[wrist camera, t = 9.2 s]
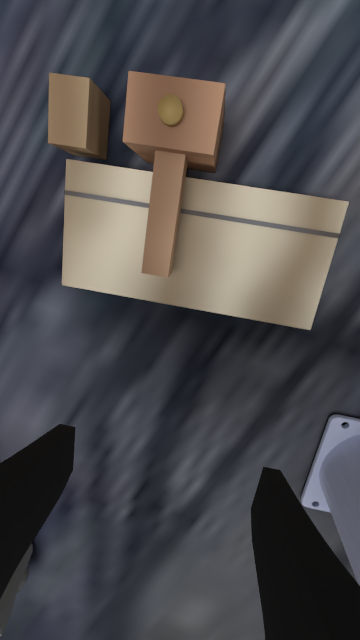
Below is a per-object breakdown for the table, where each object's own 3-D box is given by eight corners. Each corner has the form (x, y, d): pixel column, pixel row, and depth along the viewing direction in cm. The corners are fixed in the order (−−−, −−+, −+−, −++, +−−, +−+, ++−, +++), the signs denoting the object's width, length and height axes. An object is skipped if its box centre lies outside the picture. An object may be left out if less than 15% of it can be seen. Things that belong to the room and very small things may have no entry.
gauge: (224, 122, 17) (225, 76, 12) (198, 270, 20) (190, 287, 14) (153, 112, 18) (124, 63, 12) (137, 259, 20) (107, 272, 15)
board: (335, 204, 18) (349, 201, 16) (301, 320, 20) (310, 330, 18) (81, 165, 19) (65, 158, 17) (76, 279, 21) (61, 285, 19)
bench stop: (110, 101, 18) (89, 77, 15) (106, 159, 19) (85, 148, 16) (76, 97, 18) (49, 72, 15) (74, 155, 19) (48, 142, 16)
